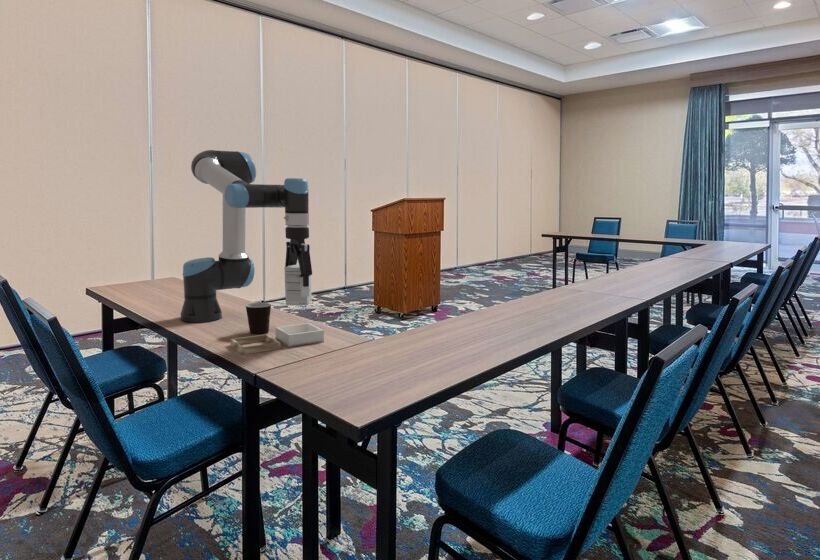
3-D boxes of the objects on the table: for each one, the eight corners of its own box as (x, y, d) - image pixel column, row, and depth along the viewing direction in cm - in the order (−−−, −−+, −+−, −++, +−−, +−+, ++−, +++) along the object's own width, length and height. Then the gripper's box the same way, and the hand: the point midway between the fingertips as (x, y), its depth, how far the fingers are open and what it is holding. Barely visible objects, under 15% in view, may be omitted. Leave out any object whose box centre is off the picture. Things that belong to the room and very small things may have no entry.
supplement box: (290, 301, 183) (289, 264, 181) (312, 301, 182) (311, 264, 181) (284, 305, 175) (283, 267, 174) (307, 305, 175) (306, 267, 173)
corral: (230, 345, 174) (230, 339, 174) (267, 339, 181) (267, 334, 181) (242, 354, 164) (242, 348, 164) (280, 348, 171) (280, 342, 171)
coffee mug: (265, 336, 185) (264, 308, 184) (242, 334, 187) (241, 306, 185) (279, 328, 197) (278, 301, 195) (257, 327, 198) (257, 300, 197)
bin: (275, 338, 183) (275, 327, 182) (309, 333, 189) (308, 322, 189) (289, 347, 173) (288, 335, 172) (323, 341, 179) (323, 330, 179)
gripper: (273, 225, 182) (275, 289, 186) (299, 228, 164) (301, 300, 167) (294, 224, 186) (296, 287, 190) (322, 228, 168) (323, 298, 171)
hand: (298, 293), depth 178 cm, fingers closed on supplement box, 10 cm apart
